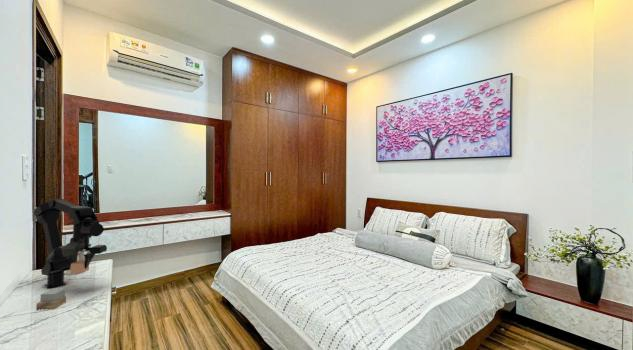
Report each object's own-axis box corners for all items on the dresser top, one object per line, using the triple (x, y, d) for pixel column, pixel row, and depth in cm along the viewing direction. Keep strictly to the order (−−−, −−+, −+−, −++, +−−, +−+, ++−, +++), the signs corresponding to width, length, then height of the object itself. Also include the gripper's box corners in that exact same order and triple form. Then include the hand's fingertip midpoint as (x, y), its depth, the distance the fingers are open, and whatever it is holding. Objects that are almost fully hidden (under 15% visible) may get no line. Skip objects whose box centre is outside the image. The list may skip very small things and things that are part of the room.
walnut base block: (36, 311, 102) (36, 303, 102) (49, 303, 108) (49, 296, 108) (53, 310, 103) (54, 302, 103) (65, 303, 109) (66, 295, 109)
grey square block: (40, 301, 103) (40, 294, 103) (51, 296, 108) (51, 288, 108) (54, 301, 104) (54, 293, 104) (64, 295, 109) (65, 288, 109)
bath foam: (64, 276, 137) (65, 237, 137) (67, 271, 142) (69, 235, 143) (81, 273, 140) (83, 236, 141) (84, 269, 146) (85, 234, 147)
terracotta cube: (70, 273, 118) (71, 263, 118) (77, 270, 122) (78, 260, 122) (82, 273, 119) (82, 263, 119) (88, 269, 123) (89, 260, 123)
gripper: (42, 238, 111) (41, 275, 111) (92, 238, 114) (91, 273, 114) (63, 233, 122) (62, 266, 122) (108, 232, 125) (106, 265, 125)
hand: (80, 268), depth 120 cm, fingers closed on terracotta cube, 4 cm apart
